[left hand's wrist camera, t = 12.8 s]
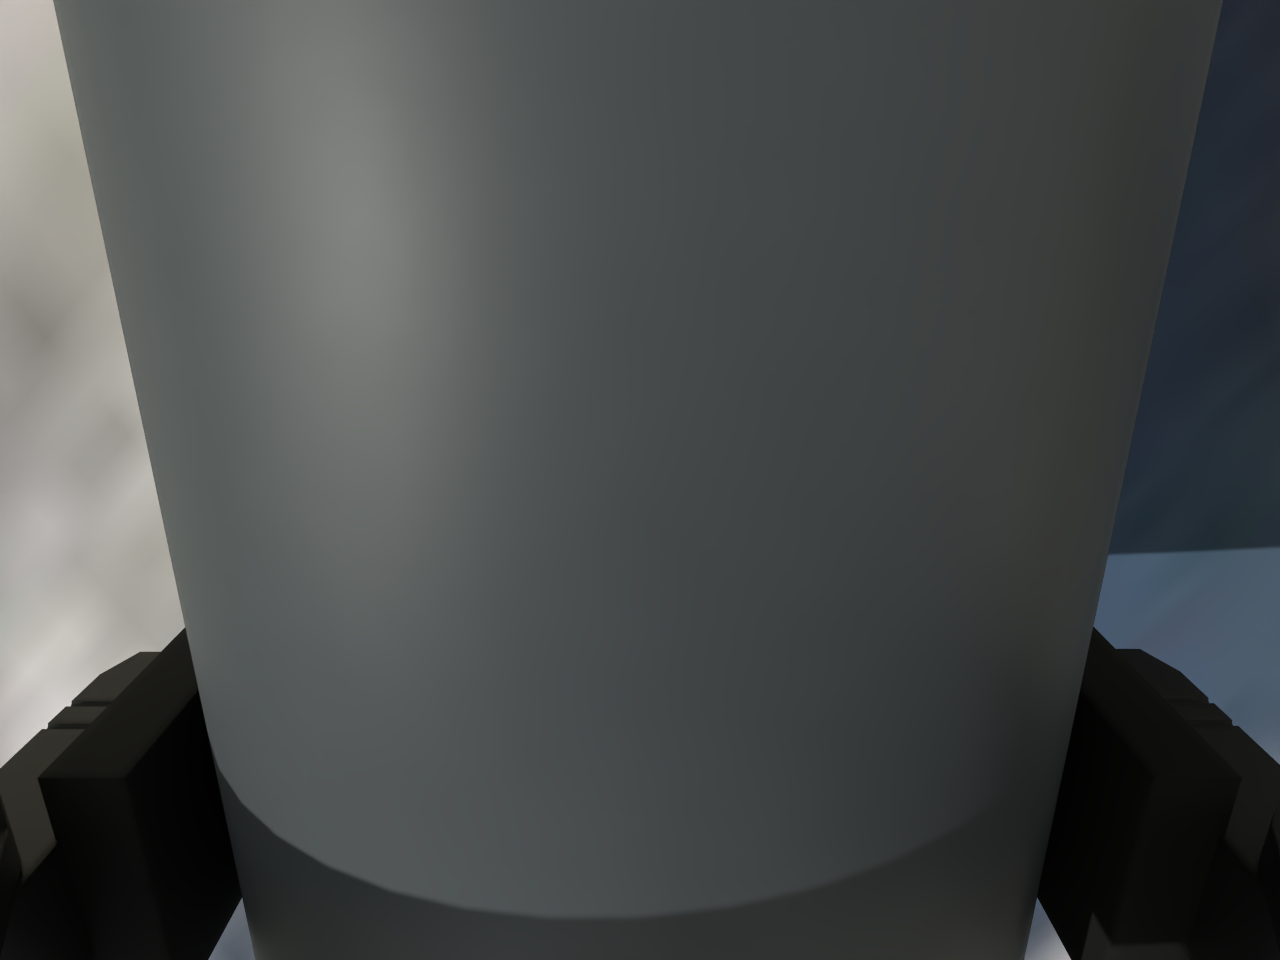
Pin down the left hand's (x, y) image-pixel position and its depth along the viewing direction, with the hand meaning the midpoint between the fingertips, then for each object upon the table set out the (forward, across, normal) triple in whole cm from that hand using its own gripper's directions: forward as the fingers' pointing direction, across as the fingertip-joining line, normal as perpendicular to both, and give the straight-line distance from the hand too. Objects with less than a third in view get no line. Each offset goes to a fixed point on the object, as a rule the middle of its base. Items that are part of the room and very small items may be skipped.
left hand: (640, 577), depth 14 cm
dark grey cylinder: (0, 0, -8) cm, 8 cm away
